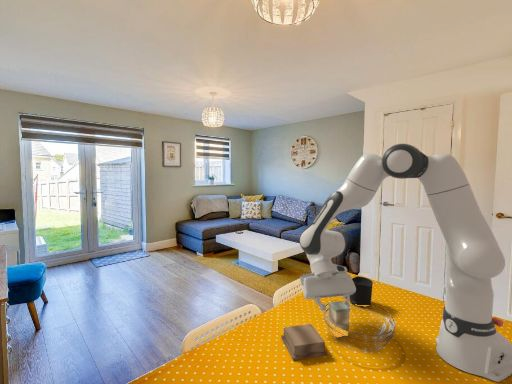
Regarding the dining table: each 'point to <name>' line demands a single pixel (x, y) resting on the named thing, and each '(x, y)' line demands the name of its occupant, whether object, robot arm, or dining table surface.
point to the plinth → (303, 342)
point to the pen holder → (362, 291)
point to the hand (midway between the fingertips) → (335, 308)
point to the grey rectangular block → (339, 315)
